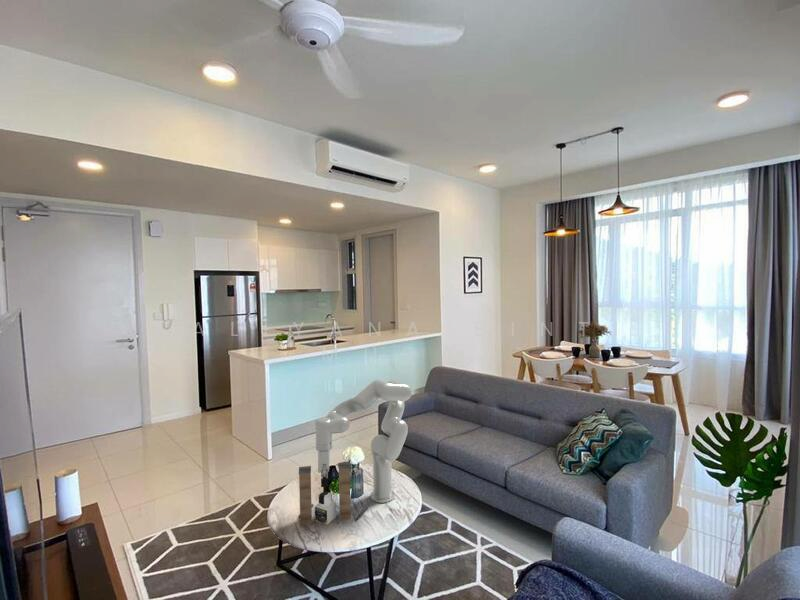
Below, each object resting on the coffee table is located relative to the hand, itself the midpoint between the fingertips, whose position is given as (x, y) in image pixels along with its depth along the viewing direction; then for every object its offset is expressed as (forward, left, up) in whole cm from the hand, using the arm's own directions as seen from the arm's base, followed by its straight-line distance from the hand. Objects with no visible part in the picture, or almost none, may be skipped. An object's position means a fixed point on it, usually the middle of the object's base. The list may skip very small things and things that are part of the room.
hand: (324, 481), depth 179 cm
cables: (-5, +1, -18) cm, 19 cm away
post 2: (-5, +8, -18) cm, 20 cm away
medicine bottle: (0, 0, -18) cm, 18 cm away
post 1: (+5, -7, -18) cm, 20 cm away
